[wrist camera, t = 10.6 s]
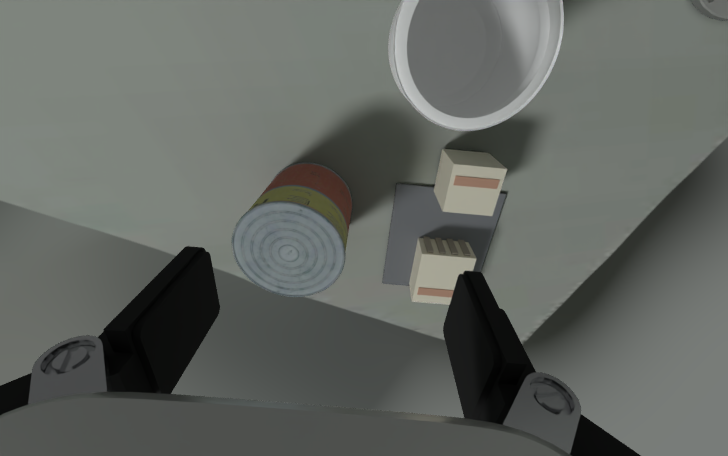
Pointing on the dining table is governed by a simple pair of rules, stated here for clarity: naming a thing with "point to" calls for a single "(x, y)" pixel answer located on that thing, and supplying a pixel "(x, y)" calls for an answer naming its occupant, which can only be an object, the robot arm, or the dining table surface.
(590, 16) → the dining table surface
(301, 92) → the dining table surface
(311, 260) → the canned food
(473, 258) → the cream striped box
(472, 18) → the jar
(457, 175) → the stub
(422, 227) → the mat
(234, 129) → the dining table surface
